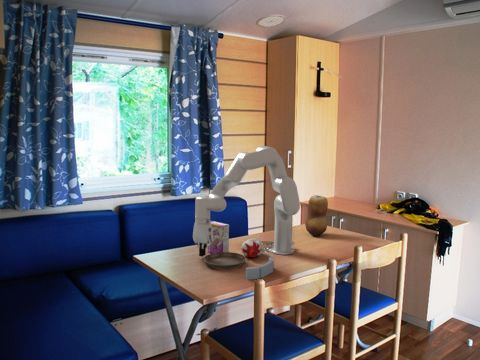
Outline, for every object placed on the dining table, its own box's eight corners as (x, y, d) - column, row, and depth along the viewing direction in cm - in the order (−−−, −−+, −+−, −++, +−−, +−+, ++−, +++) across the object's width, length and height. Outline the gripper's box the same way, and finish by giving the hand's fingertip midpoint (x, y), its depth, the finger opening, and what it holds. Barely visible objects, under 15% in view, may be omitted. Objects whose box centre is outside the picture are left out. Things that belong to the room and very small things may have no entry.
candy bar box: (207, 252, 232) (207, 222, 230) (213, 250, 236) (213, 220, 233) (222, 256, 225) (223, 226, 223) (229, 254, 229) (229, 224, 226)
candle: (259, 250, 235) (265, 263, 220) (238, 251, 233) (243, 263, 218) (260, 235, 232) (266, 246, 218) (239, 235, 230) (244, 247, 216)
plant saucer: (195, 262, 216) (195, 256, 215) (229, 255, 228) (229, 249, 228) (219, 274, 200) (219, 267, 199) (254, 266, 212) (254, 259, 212)
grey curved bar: (269, 266, 211) (269, 256, 211) (278, 268, 208) (279, 258, 208) (244, 279, 194) (244, 268, 193) (254, 281, 191) (254, 270, 190)
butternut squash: (326, 238, 263) (328, 198, 260) (303, 237, 266) (305, 197, 263) (326, 233, 276) (328, 194, 273) (305, 231, 279) (307, 193, 276)
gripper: (218, 221, 218) (218, 256, 221) (196, 217, 227) (196, 251, 229) (209, 224, 212) (208, 260, 215) (186, 219, 221) (186, 254, 223)
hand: (202, 255), depth 222 cm, fingers closed
